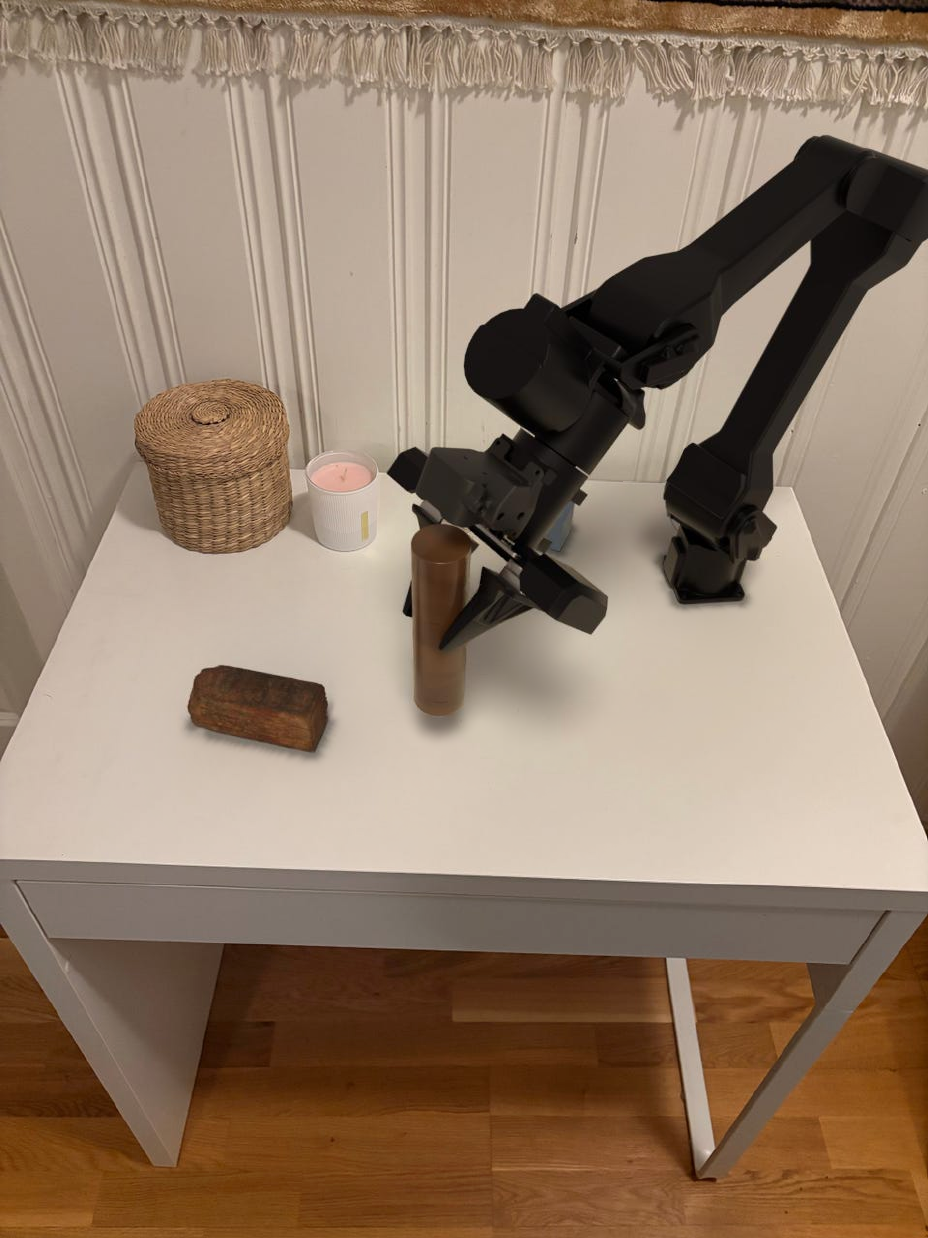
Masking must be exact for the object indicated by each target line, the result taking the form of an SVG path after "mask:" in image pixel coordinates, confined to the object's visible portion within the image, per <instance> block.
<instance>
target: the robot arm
mask: <svg viewBox="0 0 928 1238" xmlns="http://www.w3.org/2000/svg"><path fill="white" fill-rule="evenodd" d="M927 240H928V169H927V168H925V167H922V166H919V165H917V164H913V163H911V162H908V161H906V160H902V159H900V158H897V157H895V156H892V155H889V154H886V153H884V152H880V151H877V150H875V149H874V148H873V149H872V148H869V147H863V146H860V145H857V144H855V143H851V142H849V141H846V140H843V139H841V138H838V137H835V136H833V135H830V134H822V135H812V136H811V137H808V138H807V139H806V140H805V141H804V142H803V143H802V144H801V146H800V147H799V148H798V150H797V152H796V153H795V155H794V157H793V159H792V161H790V162H789V163H788V164H787V165H786V166H784V167H783V168H782V169H781V170H779V171H778V172H776V174H775V175H773V176H772V177H771V178H769V179H768V180H767V181H766V182H764V183H763V184H761V186H759V187H758V188H757V189H756V190H755V191H753V192H752V193H751V194H750V195H749V196H747V197H746V198H744V199H743V200H742V201H741V202H740V203H739V204H737V205H736V206H735V207H733V208H732V209H730V210H729V212H728V213H726V214H725V215H724V216H722V217H721V218H720V219H719V220H717V222H715V223H714V224H713V225H711V226H710V227H709V228H707V229H706V230H705V231H704V232H702V234H700V235H699V236H698V237H697V238H695V239H694V240H693V241H691V242H690V243H689V244H687V245H686V246H684V247H682V248H681V249H679V250H676V251H669V252H665V253H660V254H654V255H650V256H649V255H648V256H644V257H642V258H640V259H639V260H637V261H635V262H634V263H632V264H630V265H629V266H627V267H625V268H623V269H621V270H620V271H618V272H616V273H615V274H613V275H612V276H609V278H607V279H606V280H605V281H603V283H601V284H600V285H599V286H598V287H597V288H595V289H594V290H592V291H590V292H588V293H586V294H585V295H583V296H581V297H579V298H577V299H575V300H573V301H571V302H570V303H568V304H566V305H563V306H562V307H560V305H558V304H557V303H555V302H553V301H552V300H550V299H548V298H547V297H544V296H543V295H542V294H540V293H538V292H535V293H533V294H532V295H531V297H530V298H529V300H528V301H527V303H526V304H525V306H524V307H523V308H522V307H521V308H520V307H519V308H509V309H507V310H505V311H502V312H499V313H497V314H496V315H494V316H493V317H491V318H490V319H489V320H487V322H485V323H483V324H480V325H479V326H478V327H477V328H476V330H475V331H474V333H473V334H472V336H471V338H470V340H469V342H468V343H467V346H466V350H465V353H464V359H463V372H464V373H463V374H464V378H465V380H466V383H467V385H468V386H469V388H470V389H471V390H472V392H474V393H475V394H476V395H477V396H479V397H480V398H481V399H483V400H484V401H486V402H487V403H488V404H490V405H491V406H492V407H494V408H495V409H496V410H498V411H499V412H500V413H502V414H503V415H505V416H506V417H507V418H508V419H510V420H511V421H513V422H514V423H515V424H517V425H518V426H519V427H520V428H519V429H518V431H517V432H516V434H515V435H514V437H513V438H511V437H509V435H507V434H505V433H501V434H500V436H498V437H495V439H494V440H493V441H492V443H491V445H490V446H489V447H488V448H487V449H485V450H484V451H479V450H476V449H472V448H464V447H447V446H444V447H443V446H433V447H431V448H430V450H429V453H427V452H425V451H423V450H422V449H421V448H419V447H417V446H413V447H411V448H408V449H405V450H403V451H400V452H399V454H398V455H397V456H396V458H395V459H394V461H393V462H392V463H391V465H390V466H389V468H388V469H387V471H386V475H388V477H390V478H391V479H392V480H393V481H394V482H395V483H396V484H398V485H399V486H400V487H401V488H402V489H403V490H404V491H406V492H407V493H409V494H410V495H412V494H415V495H416V496H417V497H418V498H419V500H421V501H422V502H421V503H420V504H419V505H418V504H416V503H412V504H411V512H412V513H413V514H414V515H415V517H416V519H417V523H418V527H419V529H418V530H420V529H422V528H424V527H426V526H429V525H433V524H448V525H453V526H456V527H458V528H460V529H462V530H463V531H464V532H466V533H467V535H468V536H469V538H470V540H471V555H472V554H474V552H476V550H477V549H478V548H479V546H480V544H479V543H478V542H477V541H476V540H475V539H474V538H472V537H471V536H470V535H469V534H468V533H469V532H471V533H472V534H474V535H475V537H477V538H478V539H479V540H480V541H482V543H484V544H485V545H486V546H488V547H489V548H490V549H491V551H493V552H494V553H495V554H497V555H498V557H500V558H501V559H503V560H504V561H505V562H506V564H505V565H504V566H503V568H502V569H501V571H500V572H498V571H495V570H494V569H491V568H489V567H487V566H484V565H482V567H481V569H480V575H479V582H478V588H477V590H476V591H475V592H474V594H473V595H472V597H471V598H469V602H468V603H467V605H466V606H465V607H464V609H463V610H462V611H461V613H460V614H459V615H458V617H457V618H456V619H455V621H454V622H453V623H452V625H451V626H450V628H449V629H448V630H447V632H446V633H445V635H444V637H443V639H442V640H441V642H440V644H439V646H438V649H439V650H440V651H441V652H445V653H450V652H451V651H453V650H455V649H457V648H458V647H460V646H462V645H464V644H465V643H467V644H468V643H469V642H471V641H472V640H474V639H476V638H478V637H479V636H481V635H483V634H484V633H486V632H488V631H490V630H491V629H494V628H495V627H497V626H498V625H500V624H503V623H504V622H507V621H509V620H511V619H513V618H516V617H518V616H521V615H523V614H525V613H527V612H530V611H531V610H534V609H535V610H537V611H541V612H543V613H545V614H546V615H548V616H549V617H550V618H551V619H553V620H555V621H556V622H558V623H561V624H564V625H566V626H567V627H571V628H572V629H575V630H577V631H580V632H583V633H585V634H587V635H589V636H590V635H591V636H592V635H593V633H594V632H595V631H596V629H597V628H598V627H599V626H600V625H601V623H602V622H603V620H604V619H605V618H606V617H607V611H608V604H609V595H607V594H606V593H605V592H604V591H602V590H601V589H600V588H599V587H597V586H596V585H595V584H594V583H592V582H591V581H590V580H589V579H587V578H586V577H585V576H583V575H582V574H581V573H580V572H579V571H578V570H577V569H575V568H573V567H572V566H570V565H568V564H567V563H564V562H563V561H560V560H558V559H556V558H555V557H553V556H551V555H549V554H547V553H546V552H547V551H548V549H549V547H550V545H551V544H552V543H553V542H552V541H550V540H549V539H548V538H547V537H545V535H546V534H547V533H548V531H549V530H550V529H551V527H552V526H553V525H554V523H555V522H556V521H557V519H558V518H559V516H560V515H561V514H562V512H563V511H564V510H565V508H566V507H567V506H568V504H569V503H570V502H571V501H572V502H573V503H575V505H576V506H578V507H580V506H581V505H582V504H583V502H584V501H585V500H586V498H587V497H588V495H589V494H588V493H586V492H585V491H584V490H583V489H581V488H582V487H583V485H584V484H585V483H586V481H587V480H588V479H589V476H591V475H592V473H593V472H594V470H595V469H596V468H597V467H598V466H599V464H600V463H601V461H602V460H603V458H604V457H605V455H606V454H607V452H608V451H609V450H610V449H611V448H612V446H613V445H614V443H615V442H616V441H617V439H618V438H619V436H621V434H622V432H623V431H624V430H625V428H626V427H627V426H628V425H629V426H631V427H633V428H634V429H635V430H637V431H640V430H642V429H644V428H645V426H646V419H647V413H646V409H645V396H646V391H645V388H648V389H658V390H659V391H663V390H665V389H668V388H669V387H672V386H673V385H674V384H676V383H677V382H679V381H680V380H682V379H683V378H684V377H686V376H687V375H689V373H690V372H691V371H692V370H693V369H694V367H695V366H696V364H697V363H698V362H699V361H700V360H701V359H702V358H703V357H704V356H705V355H706V354H707V353H708V352H709V351H710V350H711V348H712V347H713V346H714V345H715V341H716V339H717V335H718V332H719V329H720V328H719V327H720V324H721V321H722V317H723V316H724V315H725V314H726V313H727V312H728V311H729V310H730V308H732V306H734V305H735V304H736V303H737V302H739V300H741V299H742V298H743V297H745V295H746V294H748V293H749V292H750V291H752V290H753V289H754V288H755V287H756V286H757V285H759V284H760V283H761V282H762V281H764V280H765V279H766V278H767V277H768V276H769V275H770V274H773V272H774V271H775V270H777V268H779V267H780V266H781V265H782V264H784V263H785V262H786V261H788V260H789V259H790V258H791V257H792V256H794V255H795V254H796V253H797V252H798V251H799V250H801V249H802V248H803V247H804V246H805V245H807V244H808V243H809V256H810V257H809V259H810V260H809V262H810V263H809V266H808V267H807V269H806V272H805V273H804V276H803V278H802V280H801V282H800V283H799V285H798V286H797V288H796V290H795V293H794V294H793V296H792V298H791V300H790V301H789V303H788V305H787V307H786V308H785V311H784V312H783V314H782V316H781V318H780V320H779V322H778V324H777V325H776V327H775V329H774V331H773V333H772V334H771V336H770V338H769V340H768V342H767V344H766V346H765V348H764V349H763V351H762V353H761V355H760V357H759V358H758V360H757V362H756V364H755V365H754V368H753V369H752V371H751V373H750V375H749V377H748V378H747V381H746V382H745V384H744V386H743V388H742V389H741V391H740V394H739V395H738V397H737V398H736V401H735V403H734V405H733V406H732V408H731V409H730V412H729V414H728V415H727V417H726V419H725V421H724V423H723V425H722V426H721V428H720V429H719V430H718V431H717V432H716V433H714V434H712V435H710V436H709V437H707V438H706V439H704V440H702V441H701V442H699V443H695V442H691V443H689V444H688V445H687V446H685V447H684V448H683V449H682V453H681V455H680V456H679V459H678V462H677V463H676V466H675V467H674V469H673V470H672V472H671V473H670V474H669V476H668V477H667V478H666V480H665V481H666V482H665V485H664V491H663V495H662V500H664V501H665V503H664V504H665V509H666V510H665V511H666V516H667V518H669V519H670V520H673V521H675V522H676V523H677V524H679V525H678V528H677V533H676V535H675V536H674V535H672V537H671V538H670V541H669V544H668V549H667V552H666V554H665V555H664V556H663V558H662V562H663V570H664V571H665V575H666V577H667V580H668V583H669V585H670V586H671V587H672V588H673V590H674V593H675V596H676V598H677V601H678V602H679V603H680V604H698V603H716V602H717V603H718V602H734V601H742V600H744V599H745V596H746V593H745V590H744V588H743V586H742V584H741V580H742V577H743V574H744V571H745V569H746V566H747V562H748V561H752V562H756V561H758V560H759V559H760V558H761V555H762V551H763V549H764V548H766V547H767V546H768V545H769V544H770V542H771V541H772V540H773V537H774V535H775V533H776V531H777V529H778V525H776V523H774V521H772V520H771V518H769V517H768V515H766V514H765V512H764V510H765V509H766V505H768V502H769V500H770V498H771V496H772V494H773V492H774V454H775V451H776V450H777V448H778V446H779V444H780V442H781V440H783V437H784V435H785V434H786V432H787V430H788V429H789V427H790V425H791V423H792V421H793V420H794V418H795V416H796V415H797V413H798V412H799V409H800V408H801V406H802V404H803V402H804V401H805V399H806V397H807V396H808V394H809V393H810V391H811V389H812V387H813V385H814V383H815V382H816V381H817V378H818V377H819V375H820V373H821V372H822V370H823V368H824V366H825V364H826V363H827V361H828V360H829V358H830V356H831V354H832V353H833V351H834V350H835V348H836V346H837V344H838V342H839V341H840V339H841V337H842V335H843V334H844V332H845V330H846V329H847V327H848V325H849V324H850V322H851V320H852V318H853V316H854V315H855V314H856V311H857V310H858V308H859V306H860V304H861V302H862V301H863V299H864V298H865V296H866V294H867V293H868V291H869V290H871V289H872V288H874V287H876V286H877V285H879V284H881V283H882V282H883V281H885V280H887V279H888V278H890V277H891V276H893V275H894V274H896V273H897V272H899V271H900V270H902V269H904V268H906V266H908V265H909V262H910V261H911V260H912V258H913V257H914V256H915V254H916V252H917V251H918V250H919V248H920V246H921V245H922V244H923V243H924V242H925V241H927ZM505 535H507V536H505ZM537 551H538V552H540V553H541V554H539V553H538V552H537ZM401 613H402V614H403V615H404V616H405V617H408V618H411V619H412V578H410V582H409V586H408V589H407V593H406V597H405V600H404V604H403V606H402V612H401Z"/></svg>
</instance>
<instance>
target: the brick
mask: <svg viewBox="0 0 928 1238" xmlns="http://www.w3.org/2000/svg"><path fill="white" fill-rule="evenodd" d="M327 698H328V697H327V693H326V687H325V686H324V685H323V684H321V683H318V682H315V681H309V680H303V679H297V678H294V677H288V676H283V675H278V674H273V673H268V672H263V671H258V670H253V669H248V668H243V667H238V666H237V667H236V666H232V665H224V664H218V665H217V666H213V667H205V668H202V669H201V670H200V672H199V673H198V674H196V675H195V676H194V678H193V683H192V688H191V691H190V694H189V699H188V702H187V706H186V707H187V712H188V714H189V715H190V721H191V723H192V724H193V725H196V726H199V727H201V728H205V729H208V730H211V731H215V732H217V733H221V734H225V735H230V736H234V737H238V738H243V739H249V740H256V741H257V742H263V743H269V744H271V745H276V746H280V747H284V748H289V749H295V750H301V751H303V752H304V751H305V752H314V751H315V750H316V748H317V745H318V744H319V742H320V739H321V736H322V735H323V732H324V730H325V728H326V725H327V722H328V708H329V703H328V702H329V701H328V700H327Z"/></svg>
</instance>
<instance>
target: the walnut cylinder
mask: <svg viewBox="0 0 928 1238" xmlns="http://www.w3.org/2000/svg"><path fill="white" fill-rule="evenodd" d="M467 534H468V533H466V532H464V531H463V530H462V529H460V528H458V527H456V526H453V525H448V524H433V525H429V526H426V527H424V528H422V529H418V530H417V531H416V532H415V533H414V535H413V536H412V538H411V540H410V563H411V564H410V566H411V567H410V570H411V571H410V573H411V575H410V577H411V579H412V618H411V620H412V621H411V623H412V624H411V627H412V628H411V629H412V673H413V674H412V675H413V679H412V680H413V681H412V683H413V701H414V704H415V706H416V707H417V708H418V709H419V710H420V711H421V712H422V713H424V714H425V715H428V716H432V717H438V718H439V717H440V718H441V717H447V716H450V715H453V714H455V713H456V712H458V711H459V710H460V709H461V708H462V706H463V705H464V703H465V698H466V680H467V679H466V678H467V658H468V657H467V655H468V654H467V653H468V642H467V643H465V644H464V645H462V646H460V647H458V648H457V649H455V650H453V651H451V652H450V653H445V652H441V651H440V650H439V649H438V646H439V644H440V642H441V640H442V639H443V637H444V635H445V633H446V632H447V630H448V629H449V628H450V626H451V625H452V623H453V622H454V621H455V619H456V618H457V617H458V615H459V614H460V613H461V611H462V610H463V609H464V607H465V606H466V605H467V603H468V602H469V601H470V586H471V585H470V584H471V564H472V563H471V562H472V554H471V540H470V538H469V536H470V535H469V534H468V535H469V536H468V535H467Z"/></svg>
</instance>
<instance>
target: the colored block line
mask: <svg viewBox="0 0 928 1238" xmlns="http://www.w3.org/2000/svg"><path fill="white" fill-rule="evenodd" d="M575 505H576V504H575V503H573V502H572V501H571V502H570V503H569V504H568V506H567V507H566V508H565V510H564V511H563V512H562V514H561V515H560V516H559V518H558V519H557V521H556V522H555V523H554V525H553V526H552V527H551V529H550V530H549V531H548V533H547V534H546V535H545V537H547V538H548V539H549V540H550V541H552V542H553V543H552V544H551V545H550V547H549V548H548V549H550V550H552V551H556V552H560V551H561V550H562V547H563V546H564V544H565V542H566V540H567V539H568V537H569V534H570V533H571V530H572V525H573V519H574V510H575ZM505 537H507V535H505Z"/></svg>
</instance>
